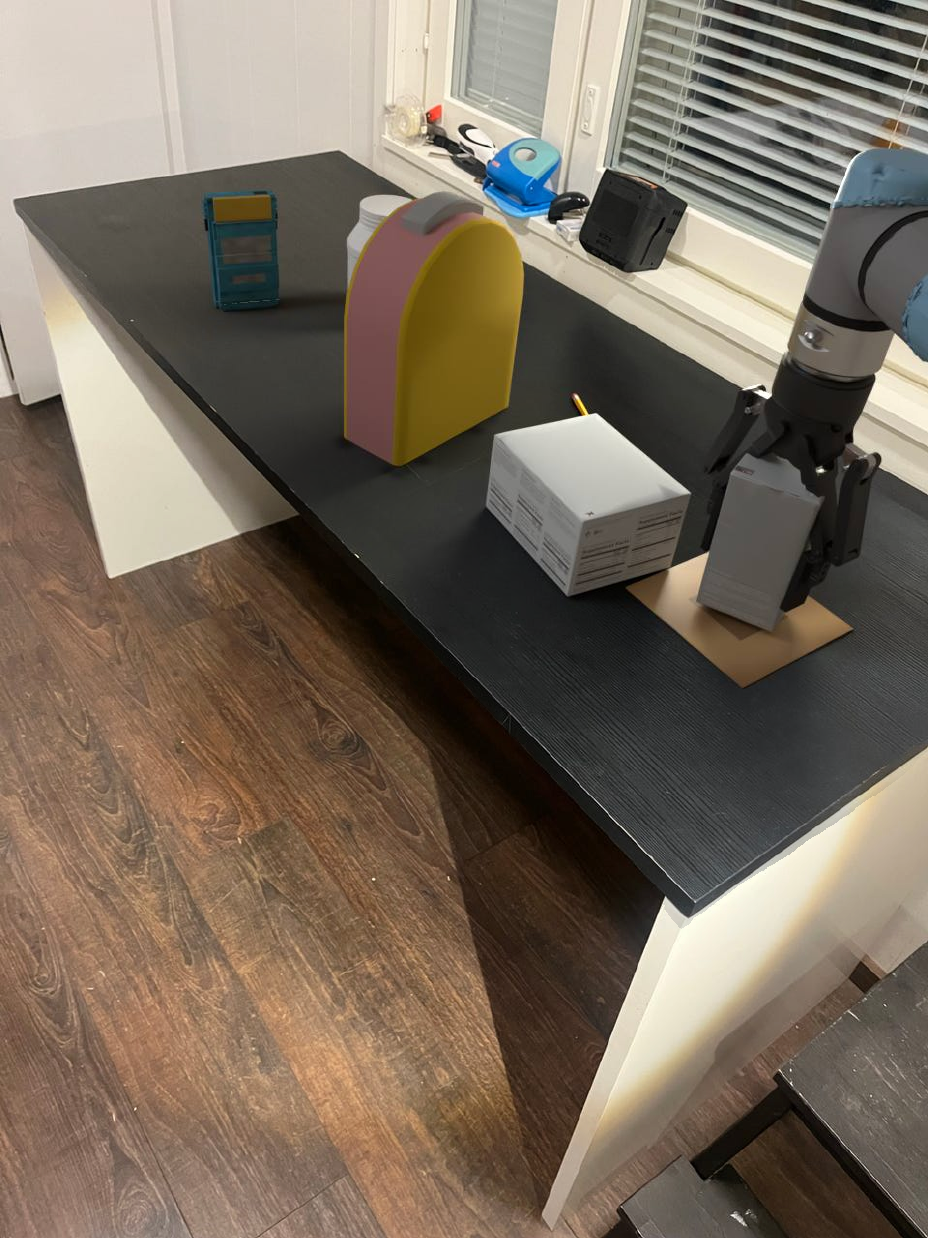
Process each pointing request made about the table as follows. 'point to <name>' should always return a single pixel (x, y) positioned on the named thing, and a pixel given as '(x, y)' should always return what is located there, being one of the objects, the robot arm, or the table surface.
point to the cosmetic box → (758, 540)
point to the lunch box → (430, 327)
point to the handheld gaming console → (242, 248)
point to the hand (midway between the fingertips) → (750, 574)
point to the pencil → (579, 405)
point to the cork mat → (734, 625)
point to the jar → (370, 223)
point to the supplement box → (585, 502)
